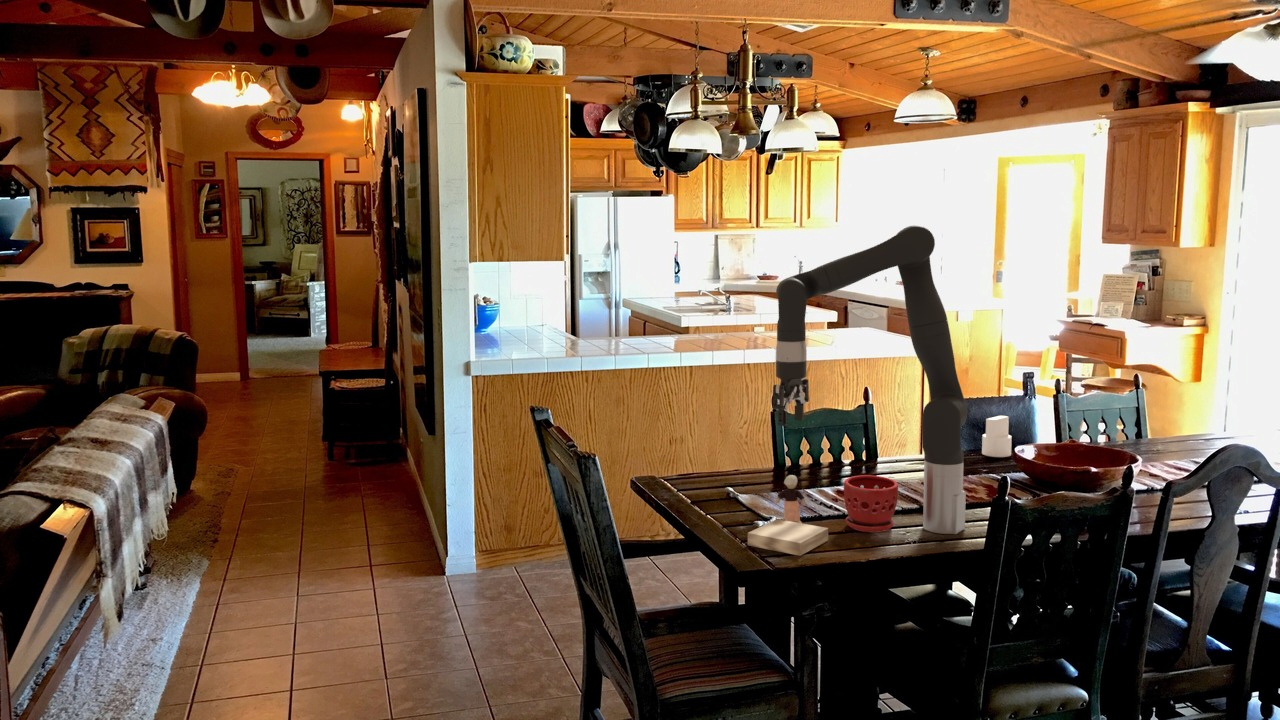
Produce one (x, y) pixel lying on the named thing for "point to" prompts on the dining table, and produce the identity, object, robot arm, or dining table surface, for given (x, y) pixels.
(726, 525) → the dining table surface
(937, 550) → the dining table surface
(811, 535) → the birch platform
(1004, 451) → the base with upright slab
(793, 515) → the grandmother figurine
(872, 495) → the plant pot
